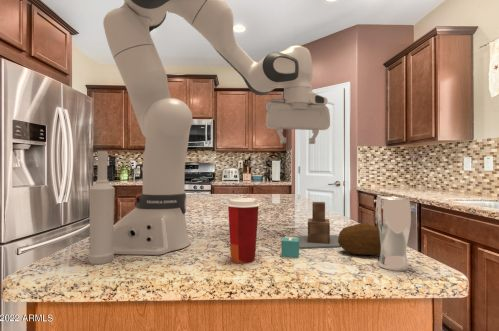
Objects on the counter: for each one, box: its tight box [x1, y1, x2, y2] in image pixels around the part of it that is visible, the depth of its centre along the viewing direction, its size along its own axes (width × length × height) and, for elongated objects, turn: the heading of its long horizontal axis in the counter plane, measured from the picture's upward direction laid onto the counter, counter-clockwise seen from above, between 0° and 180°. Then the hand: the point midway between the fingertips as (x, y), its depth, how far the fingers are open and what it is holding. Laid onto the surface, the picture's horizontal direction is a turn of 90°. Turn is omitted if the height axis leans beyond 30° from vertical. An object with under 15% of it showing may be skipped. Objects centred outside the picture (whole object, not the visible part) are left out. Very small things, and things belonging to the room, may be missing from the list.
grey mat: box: [287, 234, 342, 250], centre depth 85 cm, size 16×12×1 cm
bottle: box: [88, 150, 116, 265], centre depth 66 cm, size 5×5×25 cm
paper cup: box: [226, 197, 261, 264], centre depth 68 cm, size 8×8×14 cm
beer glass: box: [375, 195, 412, 272], centre depth 64 cm, size 7×7×15 cm
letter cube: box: [280, 236, 300, 259], centre depth 72 cm, size 4×4×4 cm
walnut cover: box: [307, 201, 331, 244], centre depth 85 cm, size 6×6×11 cm
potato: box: [338, 222, 380, 256], centre depth 73 cm, size 8×12×8 cm, turn 84°
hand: (297, 143), depth 92 cm, fingers open, 8 cm apart
